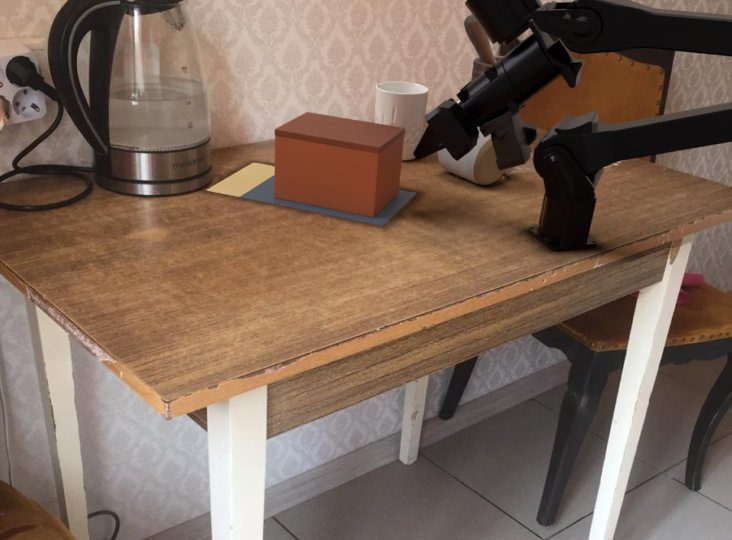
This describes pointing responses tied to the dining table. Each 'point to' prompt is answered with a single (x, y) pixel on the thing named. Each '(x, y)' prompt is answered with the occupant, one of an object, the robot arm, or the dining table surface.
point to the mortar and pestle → (479, 47)
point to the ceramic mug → (475, 163)
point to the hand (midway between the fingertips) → (415, 156)
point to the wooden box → (338, 163)
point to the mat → (260, 187)
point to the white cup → (402, 110)
